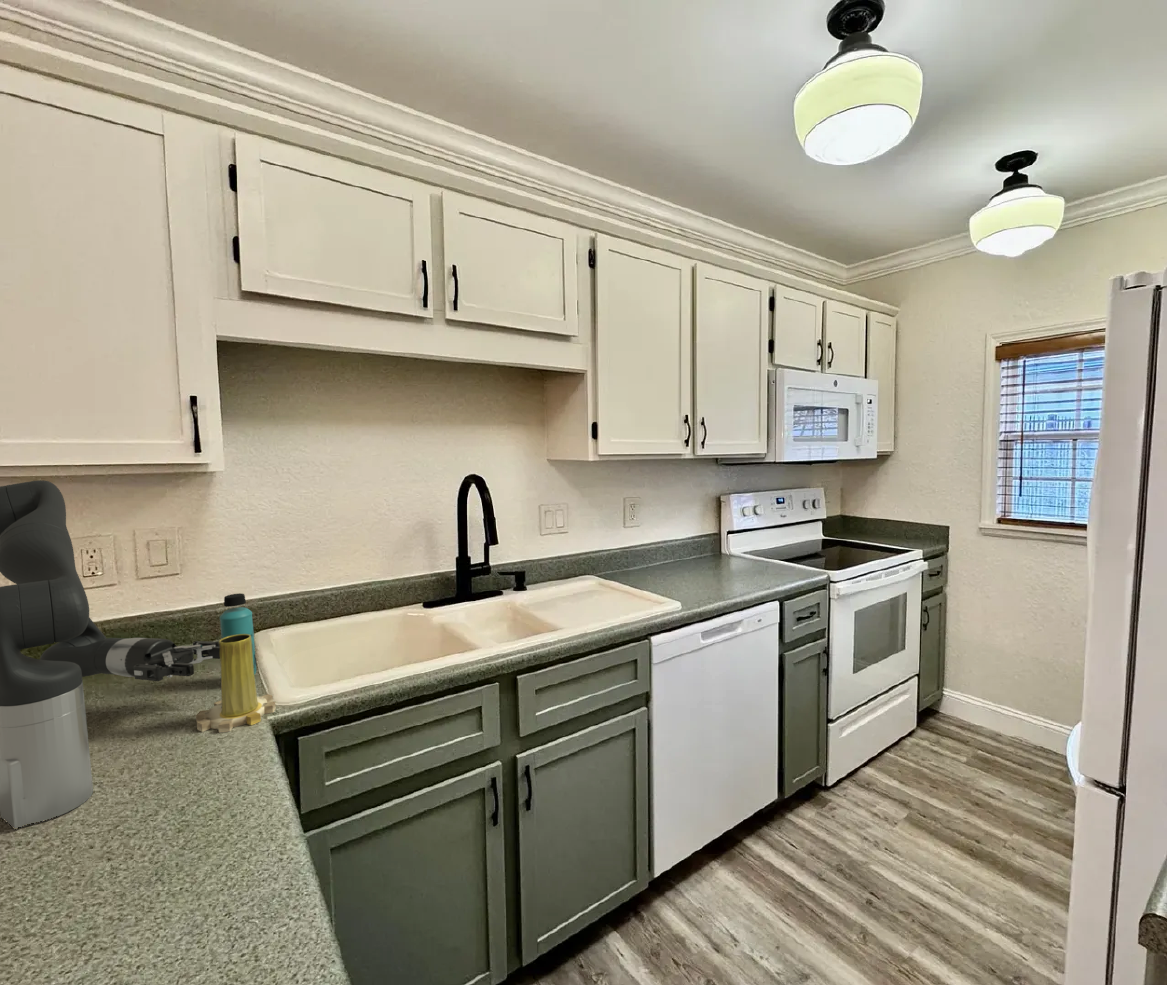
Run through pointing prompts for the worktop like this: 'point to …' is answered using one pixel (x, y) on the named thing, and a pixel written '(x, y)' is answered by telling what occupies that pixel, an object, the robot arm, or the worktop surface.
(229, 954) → the worktop surface
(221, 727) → the sprocket board
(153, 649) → the robot arm
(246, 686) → the vase
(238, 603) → the beverage bottle
